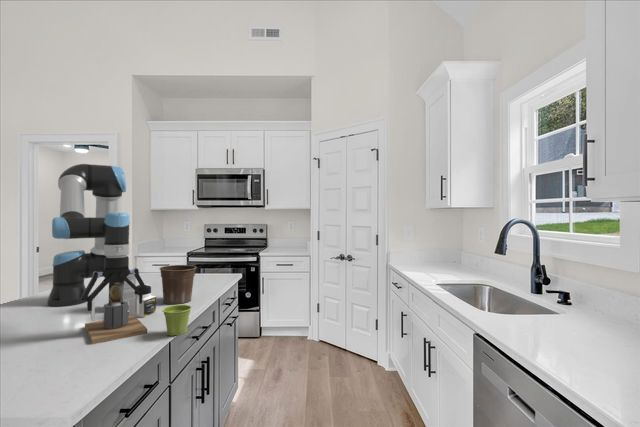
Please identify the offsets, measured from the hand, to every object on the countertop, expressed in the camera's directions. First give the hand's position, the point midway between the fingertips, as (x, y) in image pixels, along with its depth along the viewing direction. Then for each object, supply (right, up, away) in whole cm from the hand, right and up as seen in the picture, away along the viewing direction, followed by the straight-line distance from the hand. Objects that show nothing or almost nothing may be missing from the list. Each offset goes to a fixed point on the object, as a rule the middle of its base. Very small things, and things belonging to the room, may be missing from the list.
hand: (115, 316), depth 120 cm
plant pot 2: (+23, -5, -2) cm, 23 cm away
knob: (0, -3, 0) cm, 3 cm away
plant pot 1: (+5, -5, +40) cm, 41 cm away
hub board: (0, -5, 0) cm, 5 cm away
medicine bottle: (0, -5, +19) cm, 20 cm away
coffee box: (-13, -5, +26) cm, 30 cm away
